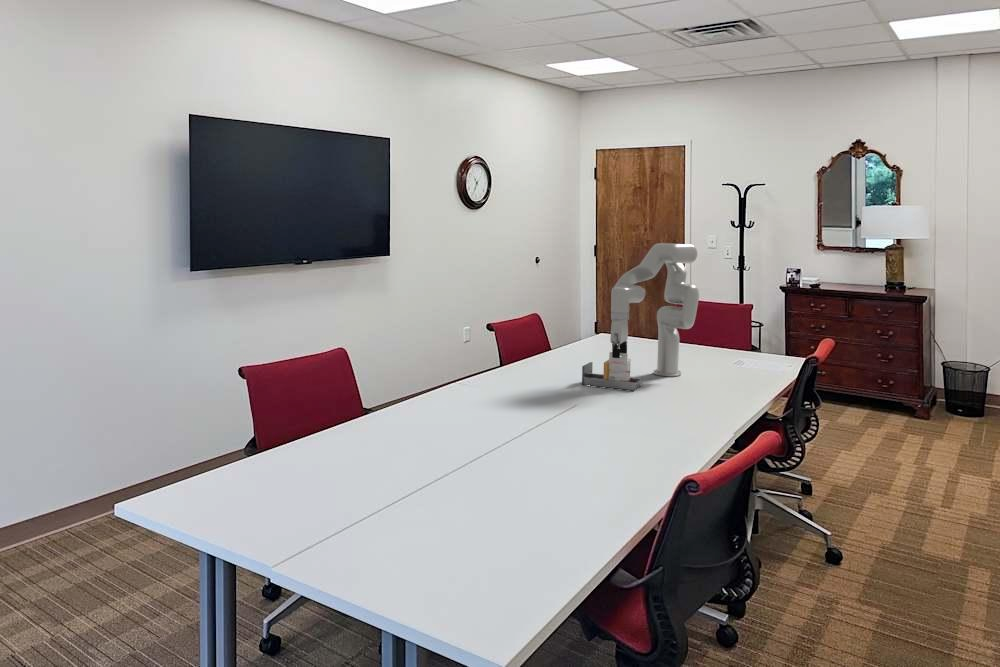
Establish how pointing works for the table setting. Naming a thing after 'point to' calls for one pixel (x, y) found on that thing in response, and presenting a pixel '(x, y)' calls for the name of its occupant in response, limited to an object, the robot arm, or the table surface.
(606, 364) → the block
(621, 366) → the ink cartridge box
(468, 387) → the table surface
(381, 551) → the table surface
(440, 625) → the table surface
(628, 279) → the robot arm
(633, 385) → the lane
